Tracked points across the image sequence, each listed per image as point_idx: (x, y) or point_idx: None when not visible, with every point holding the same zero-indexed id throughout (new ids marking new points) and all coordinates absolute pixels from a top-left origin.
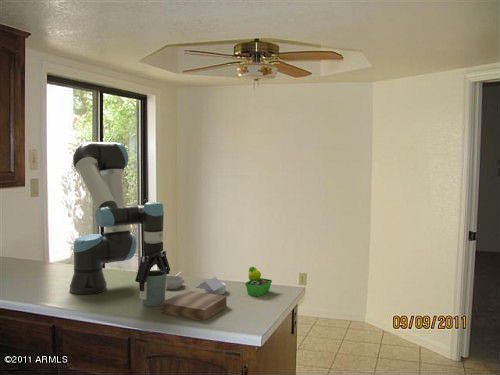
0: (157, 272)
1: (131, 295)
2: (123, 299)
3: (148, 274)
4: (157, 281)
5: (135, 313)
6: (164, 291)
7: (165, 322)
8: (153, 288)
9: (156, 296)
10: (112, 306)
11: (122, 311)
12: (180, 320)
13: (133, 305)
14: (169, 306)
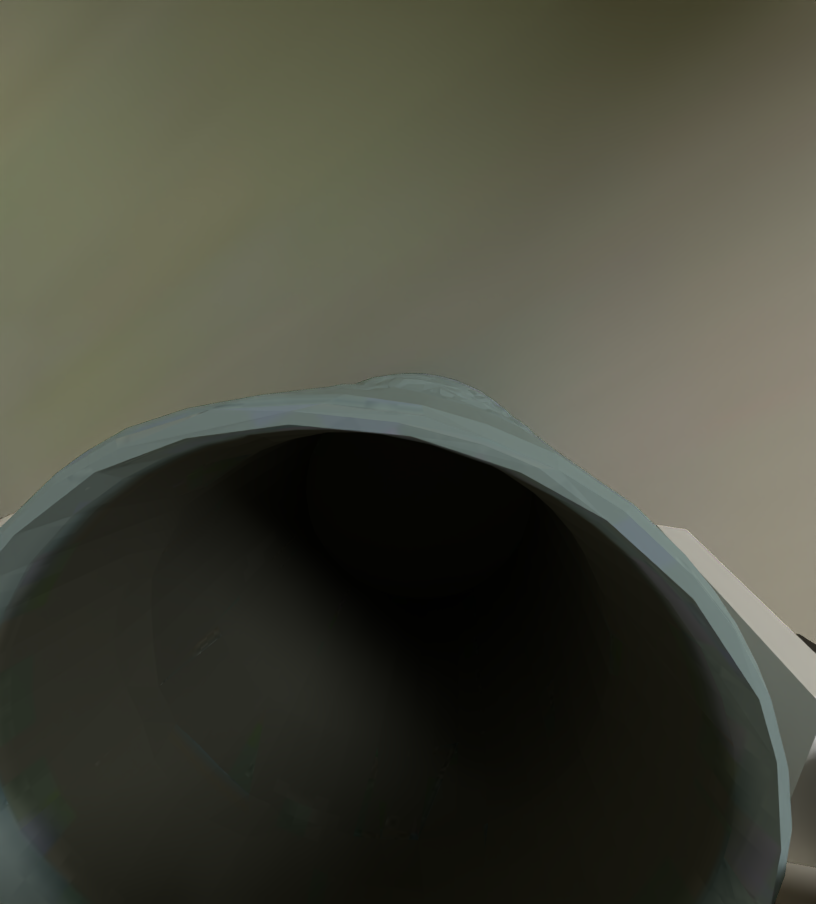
0: (712, 759)
1: (616, 26)
2: (397, 30)
3: (549, 498)
4: (172, 857)
5: (46, 476)
6: (429, 708)
7: None
8: (209, 681)
9: (295, 630)
10: (93, 79)
11: (23, 315)
12: None
13: (238, 321)
14: None
